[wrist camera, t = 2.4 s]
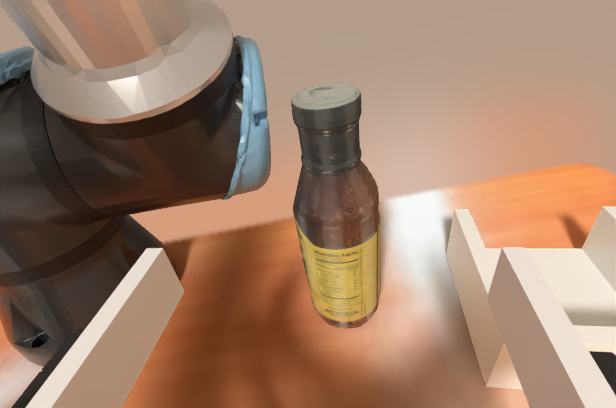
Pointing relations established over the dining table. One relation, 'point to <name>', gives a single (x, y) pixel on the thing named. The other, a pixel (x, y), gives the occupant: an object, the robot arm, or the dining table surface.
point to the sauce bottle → (336, 206)
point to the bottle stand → (560, 277)
